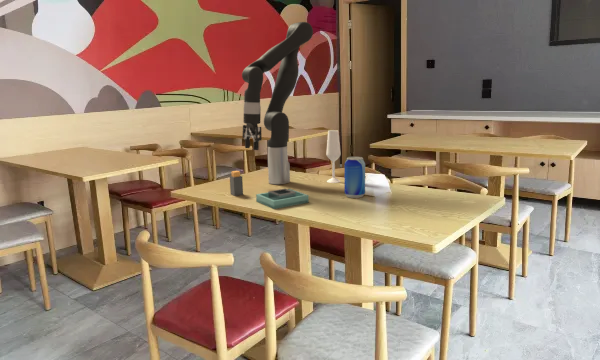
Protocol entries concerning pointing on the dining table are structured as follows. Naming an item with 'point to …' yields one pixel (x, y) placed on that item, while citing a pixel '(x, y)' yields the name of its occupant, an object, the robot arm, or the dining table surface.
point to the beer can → (354, 177)
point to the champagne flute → (333, 151)
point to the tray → (282, 200)
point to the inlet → (281, 194)
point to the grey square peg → (236, 183)
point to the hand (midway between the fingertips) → (251, 149)
